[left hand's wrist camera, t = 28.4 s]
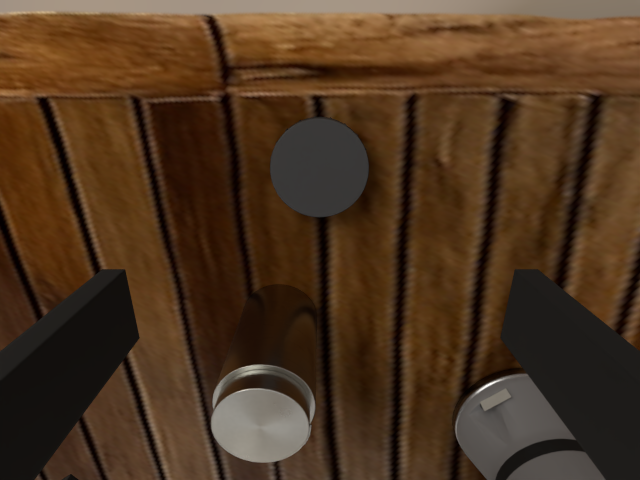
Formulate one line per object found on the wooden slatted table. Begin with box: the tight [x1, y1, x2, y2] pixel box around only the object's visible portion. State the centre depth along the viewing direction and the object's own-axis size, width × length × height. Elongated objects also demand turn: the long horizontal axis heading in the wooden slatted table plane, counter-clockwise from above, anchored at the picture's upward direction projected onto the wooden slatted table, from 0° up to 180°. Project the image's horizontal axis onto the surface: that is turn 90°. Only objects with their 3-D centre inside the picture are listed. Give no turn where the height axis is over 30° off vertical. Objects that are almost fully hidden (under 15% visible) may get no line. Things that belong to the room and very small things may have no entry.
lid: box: [270, 116, 369, 217], centre depth 36 cm, size 9×9×2 cm
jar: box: [211, 285, 317, 462], centre depth 36 cm, size 8×8×15 cm
